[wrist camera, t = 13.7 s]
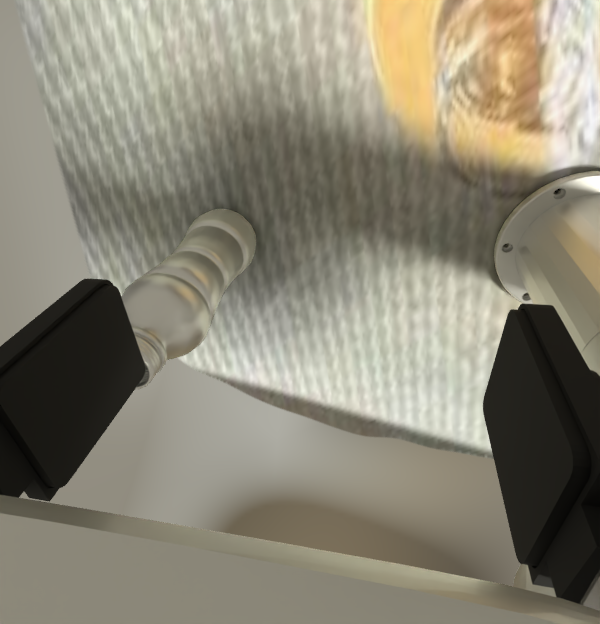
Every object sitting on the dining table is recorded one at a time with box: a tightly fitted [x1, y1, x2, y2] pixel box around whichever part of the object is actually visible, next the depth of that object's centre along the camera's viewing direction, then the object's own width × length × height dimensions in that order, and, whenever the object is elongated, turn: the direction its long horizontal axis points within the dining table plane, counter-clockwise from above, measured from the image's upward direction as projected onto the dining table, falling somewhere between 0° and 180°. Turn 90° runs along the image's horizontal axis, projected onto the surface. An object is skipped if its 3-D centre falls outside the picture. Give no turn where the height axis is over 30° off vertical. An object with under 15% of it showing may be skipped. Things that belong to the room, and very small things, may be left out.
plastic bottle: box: [121, 209, 257, 389], centre depth 33 cm, size 6×7×20 cm
